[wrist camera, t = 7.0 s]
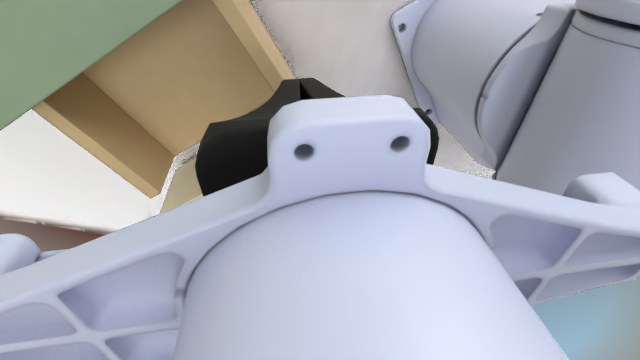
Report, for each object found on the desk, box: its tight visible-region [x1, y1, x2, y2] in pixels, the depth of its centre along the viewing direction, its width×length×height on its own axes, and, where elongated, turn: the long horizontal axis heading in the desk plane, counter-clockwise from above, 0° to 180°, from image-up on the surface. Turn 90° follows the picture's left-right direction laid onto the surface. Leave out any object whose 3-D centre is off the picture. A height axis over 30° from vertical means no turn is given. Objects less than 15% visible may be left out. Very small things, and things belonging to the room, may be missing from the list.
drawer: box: [32, 0, 296, 214], centre depth 19 cm, size 18×12×5 cm
